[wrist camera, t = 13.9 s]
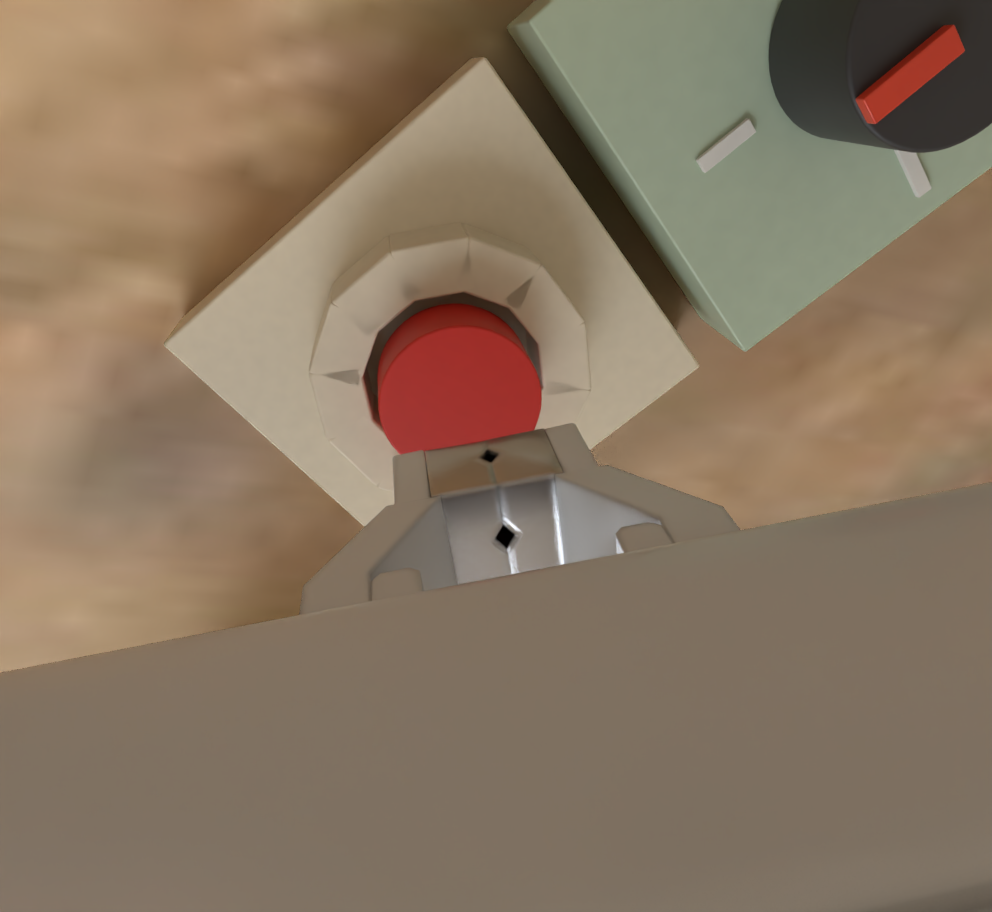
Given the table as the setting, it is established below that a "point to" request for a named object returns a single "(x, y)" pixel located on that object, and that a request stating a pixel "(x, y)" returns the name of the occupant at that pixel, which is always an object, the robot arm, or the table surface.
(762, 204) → the dial panel
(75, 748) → the robot arm
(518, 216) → the switch box
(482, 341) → the power button
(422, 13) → the table surface
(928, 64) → the dial
